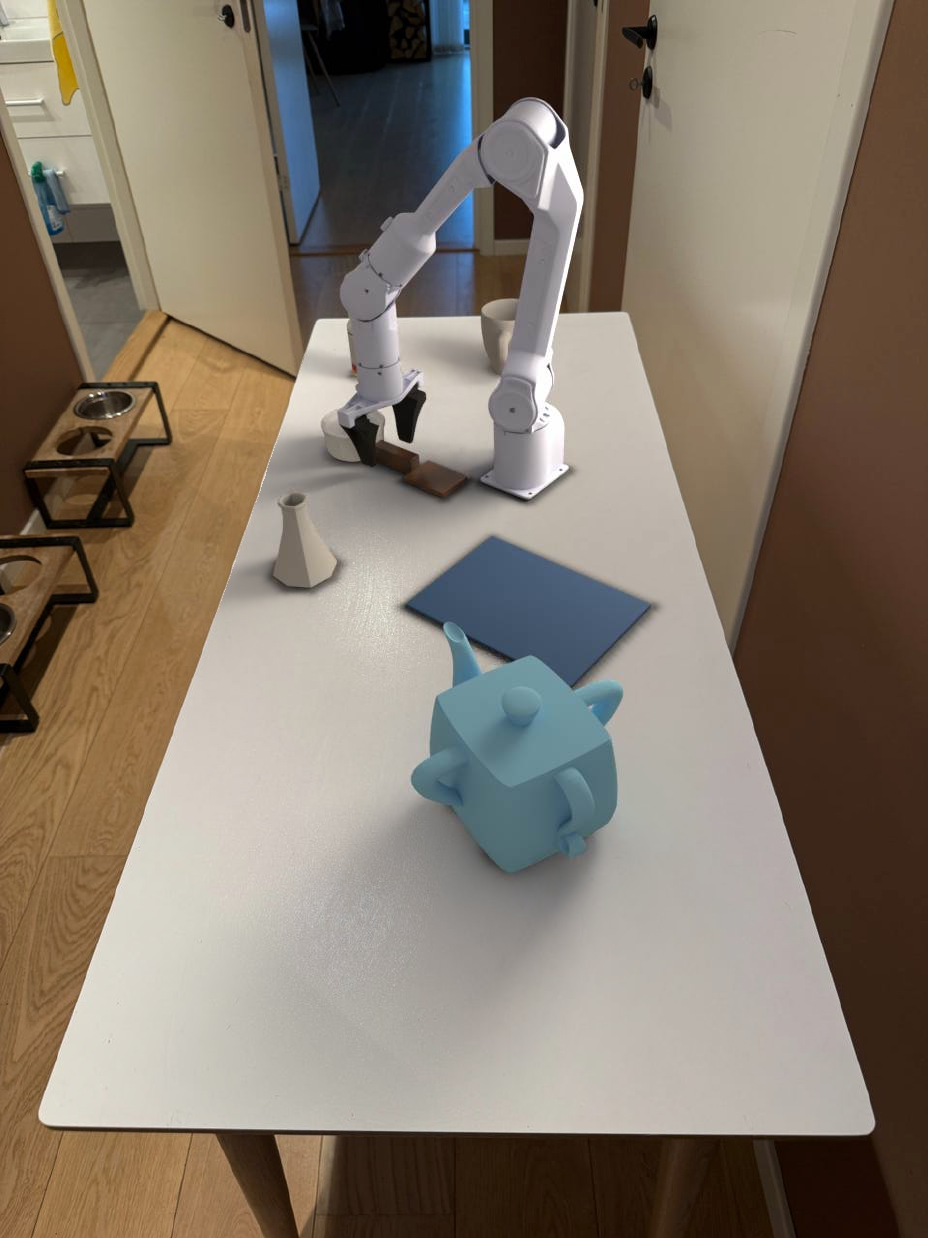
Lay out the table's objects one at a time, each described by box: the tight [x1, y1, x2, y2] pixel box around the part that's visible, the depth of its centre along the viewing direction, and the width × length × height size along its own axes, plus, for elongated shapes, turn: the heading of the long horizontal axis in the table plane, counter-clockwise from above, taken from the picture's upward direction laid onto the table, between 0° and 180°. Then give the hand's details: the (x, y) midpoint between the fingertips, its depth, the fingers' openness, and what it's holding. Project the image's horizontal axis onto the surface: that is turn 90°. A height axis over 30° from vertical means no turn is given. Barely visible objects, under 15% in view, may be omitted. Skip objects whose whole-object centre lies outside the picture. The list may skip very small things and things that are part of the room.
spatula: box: [376, 440, 469, 498], centre depth 125 cm, size 17×5×2 cm, turn 51°
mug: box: [480, 298, 519, 376], centre depth 143 cm, size 12×9×10 cm
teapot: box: [410, 622, 624, 874], centre depth 78 cm, size 18×16×14 cm
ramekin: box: [320, 407, 386, 463], centre depth 128 cm, size 9×9×4 cm
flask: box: [272, 491, 338, 589], centre depth 106 cm, size 7×7×10 cm
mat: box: [405, 535, 652, 689], centre depth 103 cm, size 16×22×1 cm
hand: (387, 452), depth 126 cm, fingers open, 7 cm apart
